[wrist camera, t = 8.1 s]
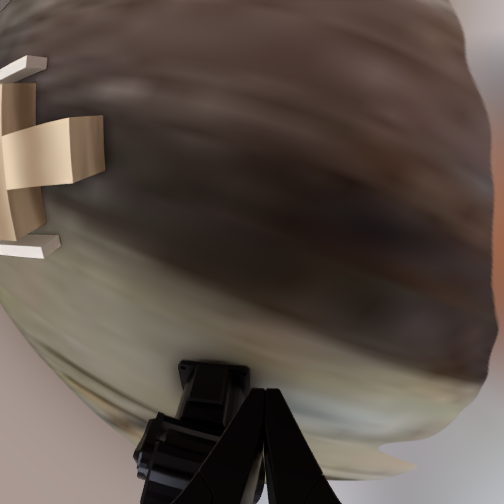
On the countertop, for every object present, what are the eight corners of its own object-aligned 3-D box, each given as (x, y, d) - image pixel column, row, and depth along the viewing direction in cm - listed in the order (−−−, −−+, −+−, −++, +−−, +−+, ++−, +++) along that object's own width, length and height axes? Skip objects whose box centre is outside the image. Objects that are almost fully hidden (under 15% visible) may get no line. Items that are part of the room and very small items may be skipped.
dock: (60, 245, 21) (44, 258, 19) (10, 243, 22) (-6, 254, 20) (47, 57, 15) (26, 55, 12) (-5, 82, 15) (-24, 83, 13)
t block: (104, 62, 15) (71, 54, 12) (111, 223, 20) (82, 245, 17) (8, 94, 16) (-24, 97, 12) (19, 222, 21) (-10, 239, 17)
